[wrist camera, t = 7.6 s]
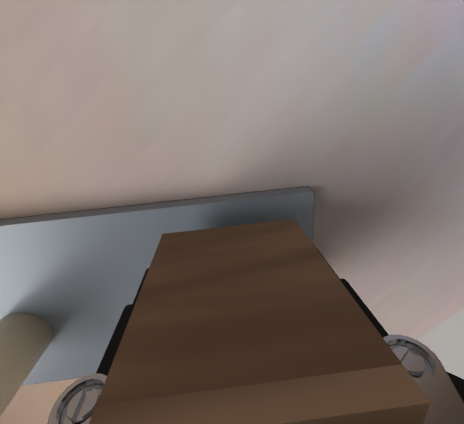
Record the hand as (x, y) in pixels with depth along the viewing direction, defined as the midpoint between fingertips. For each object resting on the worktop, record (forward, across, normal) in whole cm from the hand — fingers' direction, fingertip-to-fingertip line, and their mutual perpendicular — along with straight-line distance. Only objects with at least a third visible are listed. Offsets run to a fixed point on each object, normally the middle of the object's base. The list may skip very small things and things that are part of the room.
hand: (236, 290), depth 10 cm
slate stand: (+3, +5, +2) cm, 6 cm away
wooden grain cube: (+1, 0, 0) cm, 1 cm away
